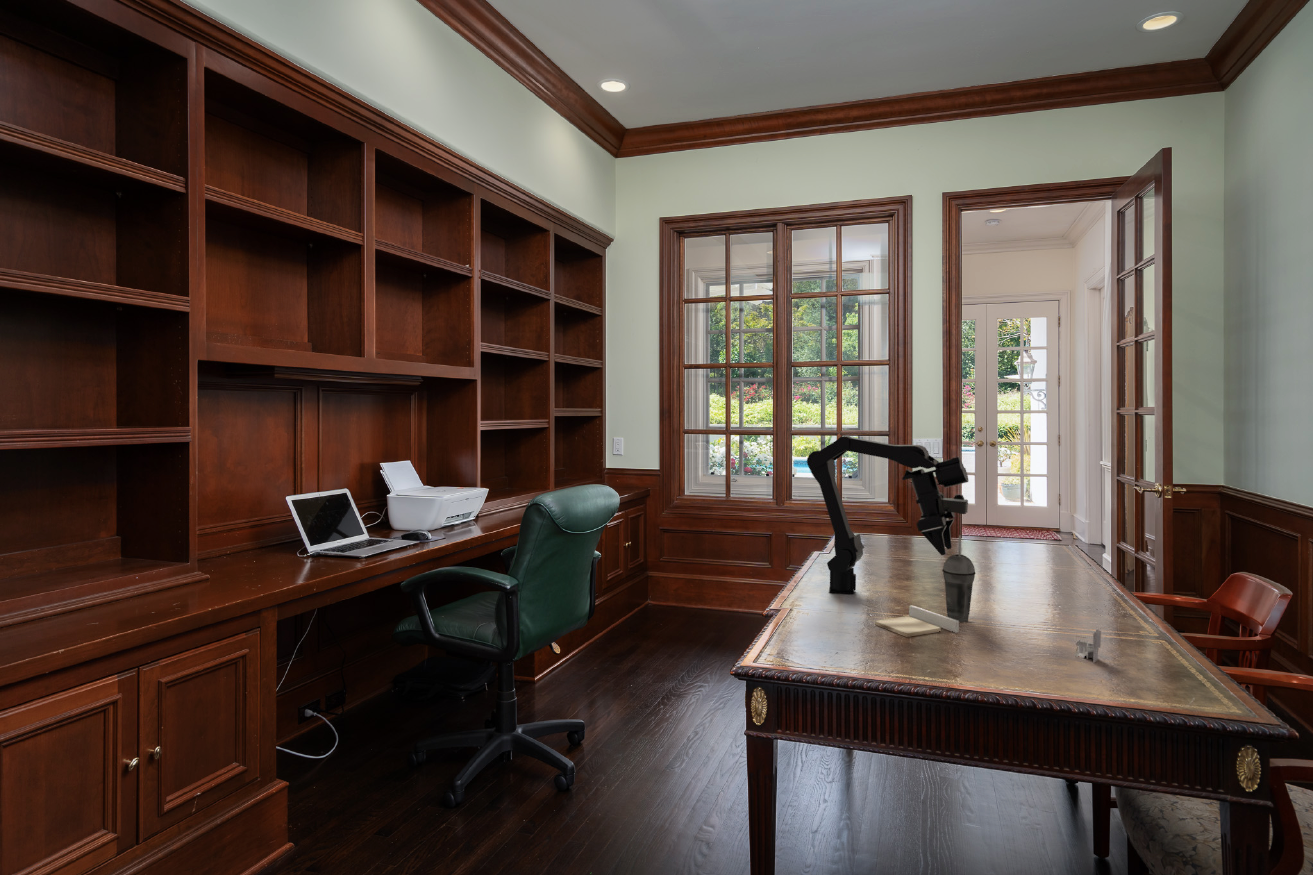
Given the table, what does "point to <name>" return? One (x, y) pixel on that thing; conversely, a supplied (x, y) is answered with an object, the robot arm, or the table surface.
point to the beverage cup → (958, 585)
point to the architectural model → (1089, 646)
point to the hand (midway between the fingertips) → (946, 551)
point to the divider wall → (934, 618)
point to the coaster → (907, 626)
